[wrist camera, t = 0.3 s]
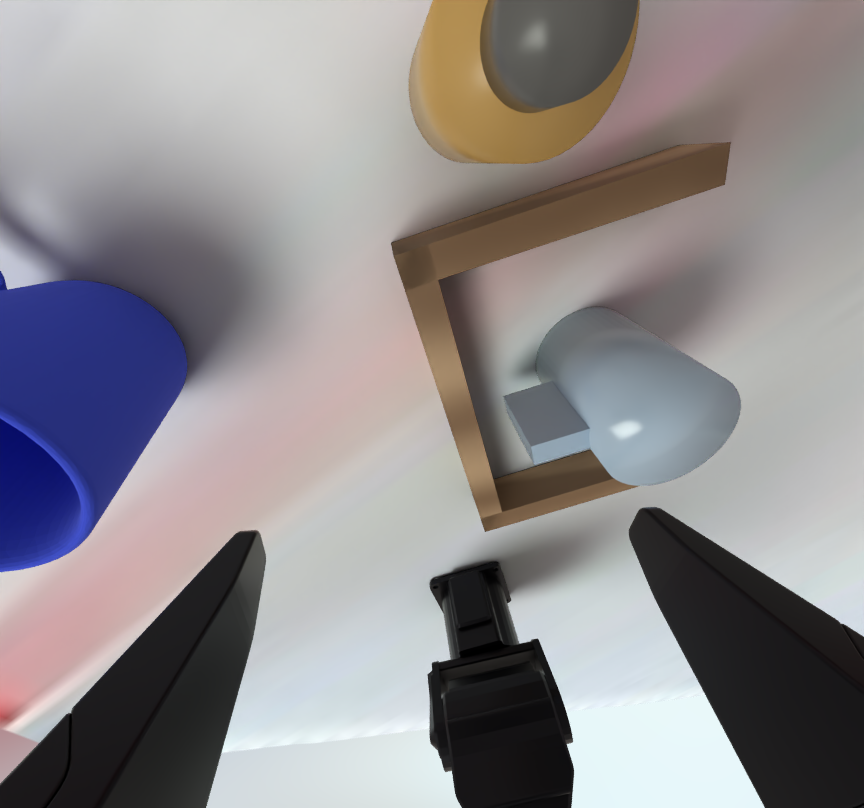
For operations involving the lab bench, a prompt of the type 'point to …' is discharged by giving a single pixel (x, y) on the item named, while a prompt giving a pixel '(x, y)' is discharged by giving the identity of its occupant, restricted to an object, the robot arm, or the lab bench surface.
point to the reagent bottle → (518, 75)
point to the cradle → (510, 235)
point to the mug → (75, 408)
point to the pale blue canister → (622, 400)
